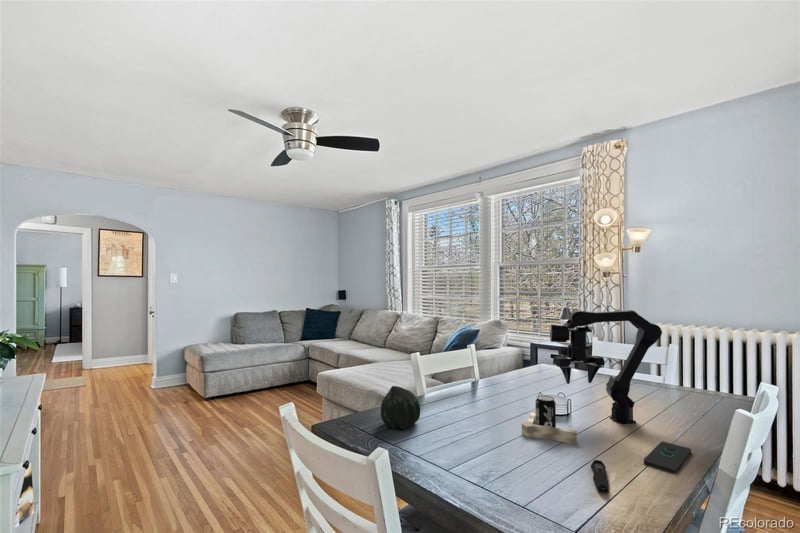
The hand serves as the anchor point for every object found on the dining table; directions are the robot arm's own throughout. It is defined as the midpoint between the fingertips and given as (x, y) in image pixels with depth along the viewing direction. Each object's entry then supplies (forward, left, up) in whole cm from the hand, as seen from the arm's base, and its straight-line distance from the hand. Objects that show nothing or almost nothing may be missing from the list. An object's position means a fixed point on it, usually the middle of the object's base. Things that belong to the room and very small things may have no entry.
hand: (578, 383), depth 153 cm
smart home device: (-5, +36, -14) cm, 39 cm away
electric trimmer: (+23, +44, -14) cm, 52 cm away
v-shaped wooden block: (+23, +12, -13) cm, 29 cm away
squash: (+70, -2, -13) cm, 71 cm away
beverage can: (+21, +12, -13) cm, 27 cm away
